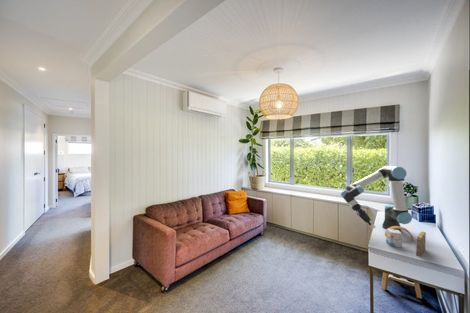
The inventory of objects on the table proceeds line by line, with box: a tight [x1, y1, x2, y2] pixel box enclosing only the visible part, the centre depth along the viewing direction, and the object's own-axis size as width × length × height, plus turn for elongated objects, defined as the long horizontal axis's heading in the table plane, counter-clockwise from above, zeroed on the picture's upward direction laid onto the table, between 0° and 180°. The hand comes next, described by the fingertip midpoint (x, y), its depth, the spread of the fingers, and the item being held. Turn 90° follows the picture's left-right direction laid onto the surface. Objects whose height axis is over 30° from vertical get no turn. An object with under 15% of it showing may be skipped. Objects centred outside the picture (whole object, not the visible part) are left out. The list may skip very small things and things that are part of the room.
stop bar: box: [415, 230, 427, 257], centre depth 157 cm, size 18×2×14 cm, turn 128°
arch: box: [384, 225, 415, 242], centre depth 184 cm, size 6×20×10 cm, turn 60°
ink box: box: [385, 229, 403, 248], centre depth 171 cm, size 9×8×12 cm
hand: (374, 228), depth 182 cm, fingers closed
